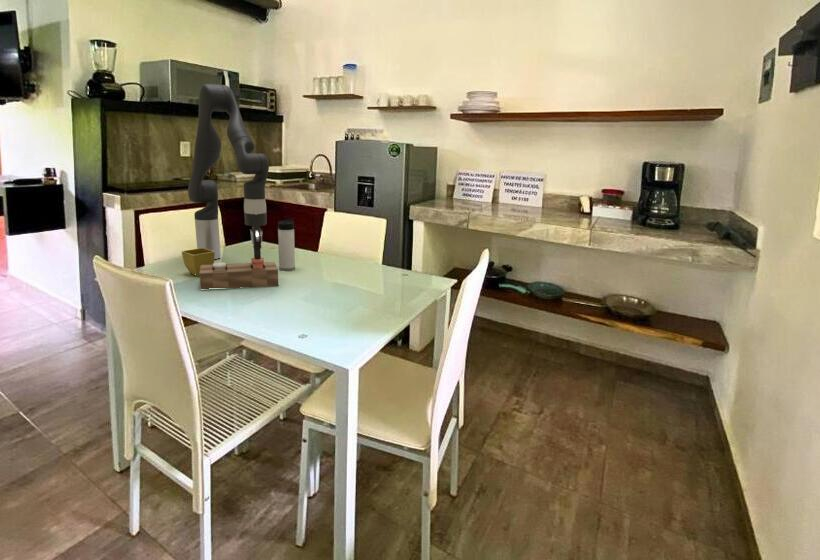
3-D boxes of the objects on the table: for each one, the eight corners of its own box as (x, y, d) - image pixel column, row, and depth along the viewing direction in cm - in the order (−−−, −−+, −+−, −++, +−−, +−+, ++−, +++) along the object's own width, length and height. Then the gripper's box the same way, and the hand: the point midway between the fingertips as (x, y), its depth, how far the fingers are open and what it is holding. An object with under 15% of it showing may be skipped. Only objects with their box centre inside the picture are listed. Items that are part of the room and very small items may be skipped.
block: (201, 280, 177) (200, 265, 175) (275, 276, 186) (274, 261, 184) (200, 290, 166) (199, 273, 164) (278, 285, 175) (277, 269, 173)
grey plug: (214, 281, 175) (212, 262, 173) (227, 280, 176) (226, 261, 174) (214, 285, 171) (212, 265, 169) (227, 284, 172) (226, 264, 170)
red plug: (251, 276, 179) (250, 257, 177) (264, 275, 180) (263, 257, 178) (252, 279, 175) (251, 260, 173) (265, 278, 177) (264, 259, 175)
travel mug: (297, 267, 201) (296, 219, 195) (291, 271, 194) (290, 222, 189) (282, 266, 201) (281, 218, 196) (276, 270, 195) (275, 221, 189)
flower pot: (195, 278, 179) (193, 254, 177) (182, 273, 184) (180, 250, 182) (216, 274, 186) (215, 251, 184) (204, 269, 191) (202, 247, 189)
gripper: (243, 208, 176) (245, 255, 180) (245, 214, 164) (247, 263, 168) (264, 208, 178) (266, 254, 183) (268, 214, 166) (269, 262, 171)
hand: (257, 258), depth 176 cm, fingers closed
